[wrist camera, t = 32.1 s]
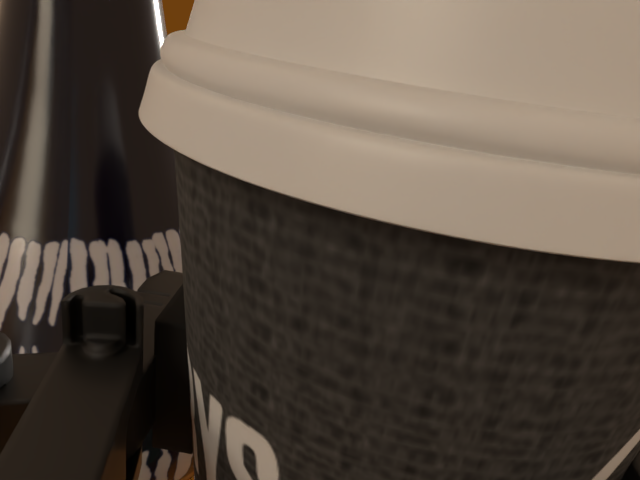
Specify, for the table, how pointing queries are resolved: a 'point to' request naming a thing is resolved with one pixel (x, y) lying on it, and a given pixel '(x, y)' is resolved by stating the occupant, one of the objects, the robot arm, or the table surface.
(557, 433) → the coffee cup
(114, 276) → the vase
